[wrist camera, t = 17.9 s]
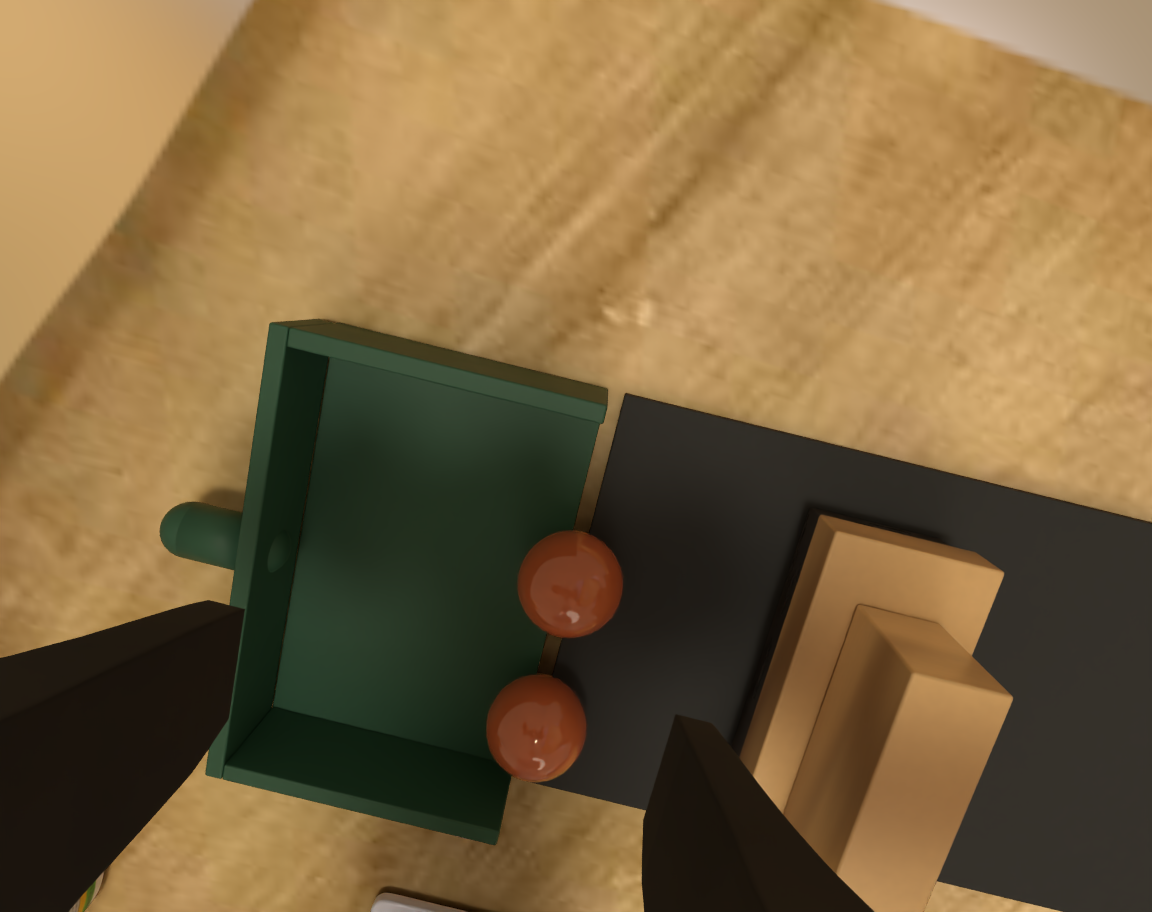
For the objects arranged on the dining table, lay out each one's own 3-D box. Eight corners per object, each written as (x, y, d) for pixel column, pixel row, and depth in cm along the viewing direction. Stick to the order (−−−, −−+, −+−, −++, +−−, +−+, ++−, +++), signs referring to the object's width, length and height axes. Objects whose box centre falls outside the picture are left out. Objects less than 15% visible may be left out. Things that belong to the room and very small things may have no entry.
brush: (839, 832, 23) (924, 1033, 17) (706, 800, 23) (742, 988, 17) (951, 534, 21) (1099, 636, 15) (804, 498, 21) (888, 585, 15)
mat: (1305, 964, 24) (1314, 973, 23) (526, 775, 24) (525, 781, 23) (1510, 610, 21) (1522, 615, 21) (625, 392, 21) (625, 394, 20)
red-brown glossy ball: (526, 820, 19) (463, 766, 22) (605, 776, 21) (540, 731, 24) (531, 719, 19) (466, 674, 21) (611, 684, 21) (544, 646, 23)
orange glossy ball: (538, 497, 21) (636, 524, 20) (551, 559, 23) (641, 586, 22) (488, 579, 19) (594, 614, 18) (507, 639, 21) (603, 672, 20)
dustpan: (608, 388, 21) (607, 405, 18) (512, 772, 24) (495, 846, 20) (227, 294, 21) (156, 294, 18) (176, 690, 24) (107, 752, 20)
